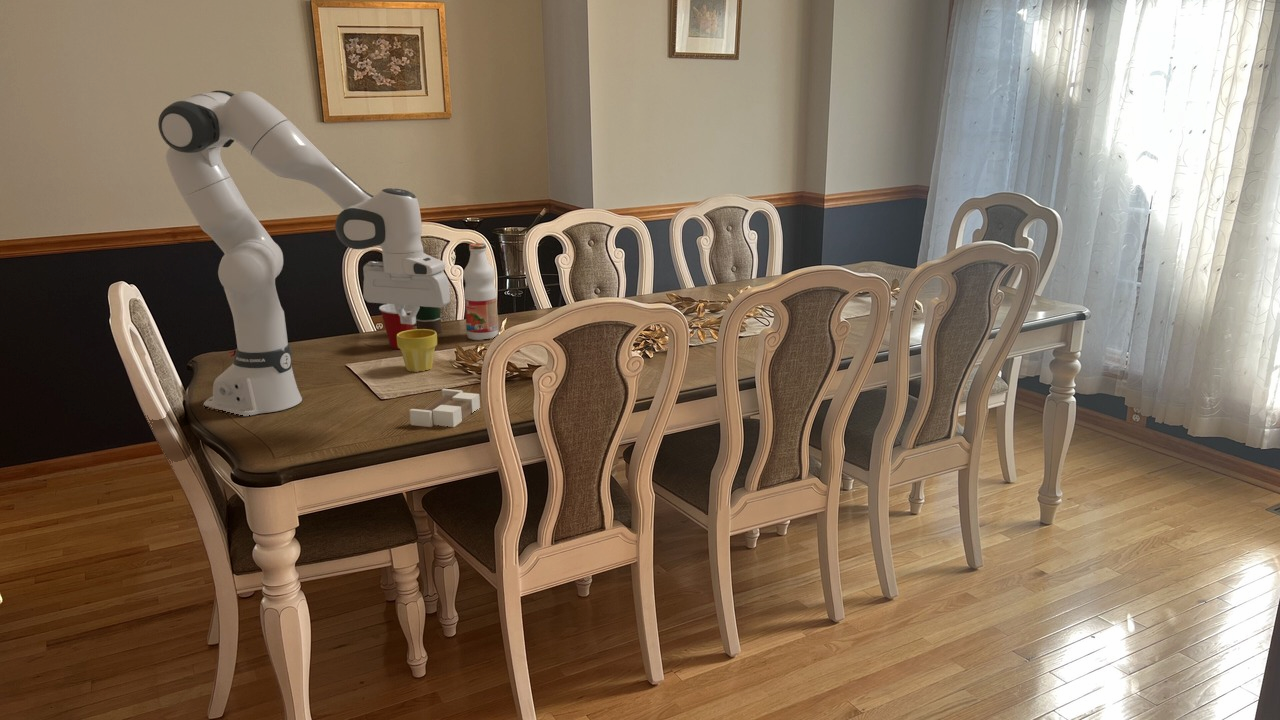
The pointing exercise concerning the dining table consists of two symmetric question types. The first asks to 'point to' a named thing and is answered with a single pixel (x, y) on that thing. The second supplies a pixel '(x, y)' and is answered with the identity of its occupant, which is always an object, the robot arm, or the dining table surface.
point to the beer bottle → (429, 319)
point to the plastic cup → (394, 323)
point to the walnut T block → (448, 401)
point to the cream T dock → (445, 410)
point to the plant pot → (417, 348)
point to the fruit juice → (480, 295)
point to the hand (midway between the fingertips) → (408, 323)
